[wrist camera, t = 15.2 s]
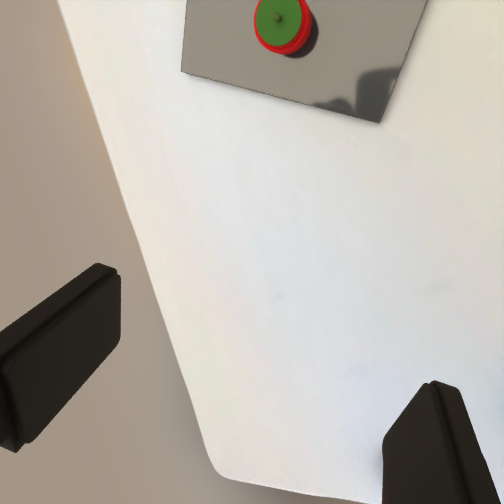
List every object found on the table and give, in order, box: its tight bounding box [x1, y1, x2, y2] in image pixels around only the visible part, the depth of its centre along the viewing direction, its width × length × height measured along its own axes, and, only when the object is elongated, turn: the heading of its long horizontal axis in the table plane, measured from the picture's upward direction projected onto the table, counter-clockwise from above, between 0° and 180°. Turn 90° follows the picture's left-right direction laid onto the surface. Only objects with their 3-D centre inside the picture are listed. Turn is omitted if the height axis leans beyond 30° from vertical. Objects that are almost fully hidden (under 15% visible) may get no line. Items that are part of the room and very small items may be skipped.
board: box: [181, 0, 427, 123], centre depth 29 cm, size 20×11×1 cm, turn 78°
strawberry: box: [254, 0, 312, 55], centre depth 26 cm, size 4×4×7 cm
